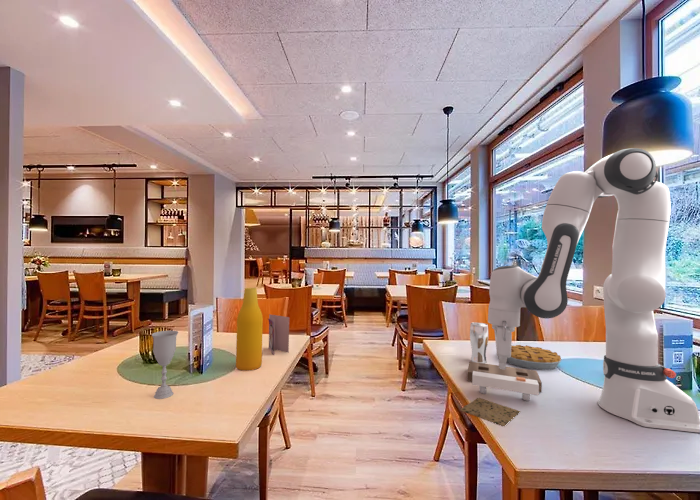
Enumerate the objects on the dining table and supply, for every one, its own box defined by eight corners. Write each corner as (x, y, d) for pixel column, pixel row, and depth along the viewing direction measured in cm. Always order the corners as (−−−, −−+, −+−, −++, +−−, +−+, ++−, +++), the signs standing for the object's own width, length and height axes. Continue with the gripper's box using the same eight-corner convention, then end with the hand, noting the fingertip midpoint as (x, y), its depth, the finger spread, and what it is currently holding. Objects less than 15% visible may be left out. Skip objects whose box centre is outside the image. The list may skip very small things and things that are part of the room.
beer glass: (484, 359, 136) (485, 322, 136) (490, 364, 129) (490, 326, 129) (467, 358, 136) (468, 322, 137) (472, 363, 129) (472, 325, 130)
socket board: (536, 379, 114) (536, 370, 114) (541, 392, 103) (541, 382, 103) (469, 369, 123) (469, 361, 123) (467, 380, 112) (467, 371, 112)
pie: (572, 373, 121) (572, 360, 121) (509, 369, 124) (509, 356, 125) (546, 355, 143) (547, 344, 143) (493, 352, 146) (493, 341, 146)
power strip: (536, 398, 98) (537, 378, 98) (538, 404, 95) (538, 382, 95) (472, 388, 105) (472, 369, 105) (472, 392, 102) (472, 373, 102)
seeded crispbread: (521, 413, 90) (521, 409, 90) (504, 428, 82) (504, 424, 82) (478, 398, 99) (479, 395, 99) (459, 411, 90) (459, 408, 90)
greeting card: (266, 348, 145) (267, 314, 145) (283, 346, 148) (284, 313, 149) (271, 355, 135) (272, 319, 135) (289, 353, 138) (290, 318, 138)
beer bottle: (230, 369, 118) (232, 288, 119) (244, 361, 127) (246, 286, 128) (253, 372, 116) (255, 289, 116) (266, 363, 125) (268, 287, 125)
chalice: (152, 391, 98) (154, 331, 99) (178, 388, 101) (179, 329, 101) (147, 402, 92) (149, 337, 92) (174, 398, 94) (176, 335, 94)
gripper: (518, 326, 90) (515, 377, 90) (512, 314, 108) (510, 356, 108) (492, 323, 92) (490, 372, 92) (492, 311, 111) (490, 352, 111)
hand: (501, 363), depth 100 cm, fingers open, 8 cm apart
